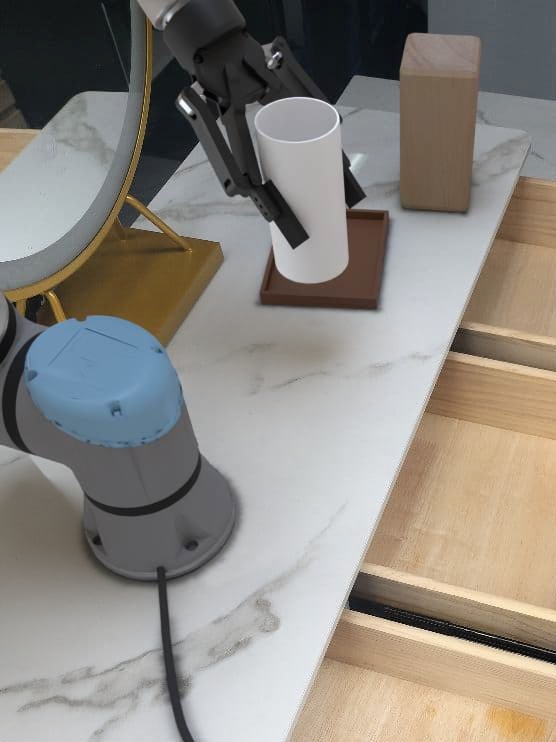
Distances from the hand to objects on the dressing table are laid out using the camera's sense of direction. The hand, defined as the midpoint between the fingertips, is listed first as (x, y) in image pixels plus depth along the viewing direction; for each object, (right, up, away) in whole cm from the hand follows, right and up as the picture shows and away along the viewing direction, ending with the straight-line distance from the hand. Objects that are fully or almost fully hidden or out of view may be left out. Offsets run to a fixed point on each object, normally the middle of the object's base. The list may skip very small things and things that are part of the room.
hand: (330, 222), depth 85 cm
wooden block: (+12, +18, +36) cm, 42 cm away
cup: (-3, -2, +6) cm, 7 cm away
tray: (-3, +5, +26) cm, 27 cm away
